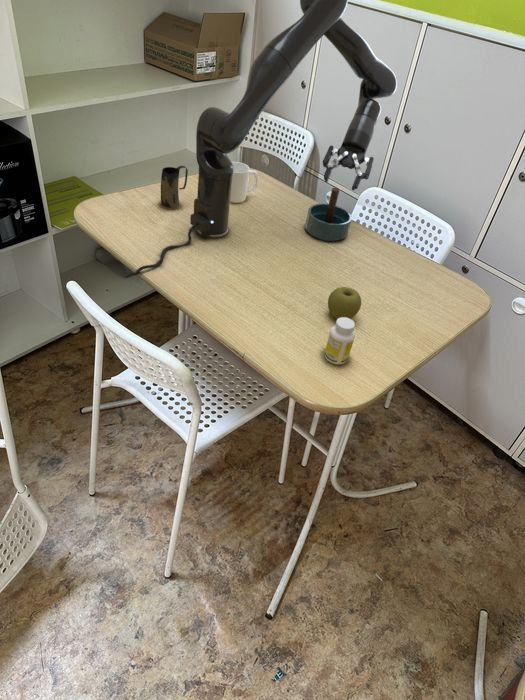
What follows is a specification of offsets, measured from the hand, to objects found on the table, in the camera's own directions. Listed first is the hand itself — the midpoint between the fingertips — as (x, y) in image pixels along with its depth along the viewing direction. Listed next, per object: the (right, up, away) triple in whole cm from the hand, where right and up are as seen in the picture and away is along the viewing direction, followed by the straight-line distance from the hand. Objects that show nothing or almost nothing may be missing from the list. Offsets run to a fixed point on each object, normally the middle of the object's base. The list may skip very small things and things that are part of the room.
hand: (339, 185), depth 154 cm
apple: (-4, -40, -25) cm, 48 cm away
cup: (-31, +1, +17) cm, 35 cm away
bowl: (-3, -12, +7) cm, 14 cm away
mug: (-50, -4, +7) cm, 51 cm away
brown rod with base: (-3, -12, +6) cm, 14 cm away
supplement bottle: (-6, -50, -37) cm, 63 cm away
